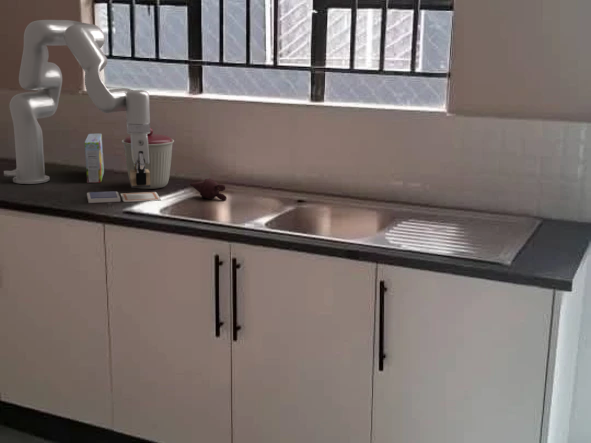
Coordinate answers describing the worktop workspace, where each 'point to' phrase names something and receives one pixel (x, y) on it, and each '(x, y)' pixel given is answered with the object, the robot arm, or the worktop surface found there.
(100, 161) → the snack box
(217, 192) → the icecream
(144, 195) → the marked card
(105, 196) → the ink pad
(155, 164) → the canister
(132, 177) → the stamp
